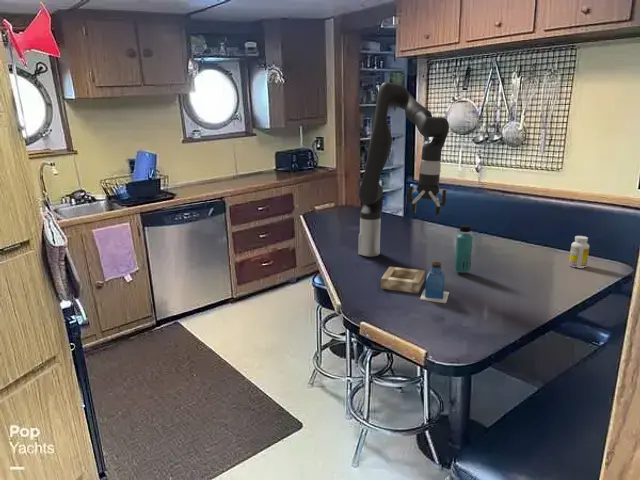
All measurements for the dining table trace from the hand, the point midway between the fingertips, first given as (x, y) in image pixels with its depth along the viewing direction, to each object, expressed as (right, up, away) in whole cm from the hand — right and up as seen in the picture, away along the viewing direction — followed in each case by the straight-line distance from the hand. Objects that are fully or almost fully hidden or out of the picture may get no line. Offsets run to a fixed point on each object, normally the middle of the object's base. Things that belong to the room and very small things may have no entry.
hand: (425, 214), depth 178 cm
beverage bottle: (+17, -24, +11) cm, 31 cm away
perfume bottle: (+1, -30, -12) cm, 32 cm away
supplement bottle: (+68, -21, +18) cm, 74 cm away
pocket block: (-9, -27, 0) cm, 28 cm away
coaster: (+1, -30, -12) cm, 32 cm away
